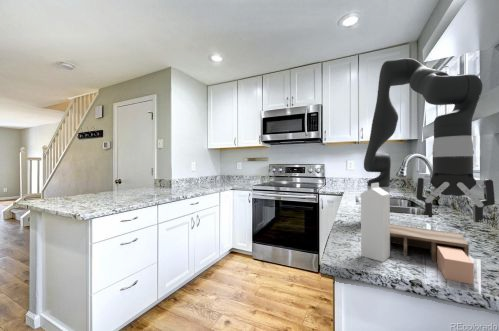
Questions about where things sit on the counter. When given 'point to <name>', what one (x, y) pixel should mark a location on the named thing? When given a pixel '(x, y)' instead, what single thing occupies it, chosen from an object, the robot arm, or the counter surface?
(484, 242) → the counter surface
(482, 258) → the counter surface
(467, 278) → the block
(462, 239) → the wooden bench
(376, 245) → the milk
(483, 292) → the counter surface
